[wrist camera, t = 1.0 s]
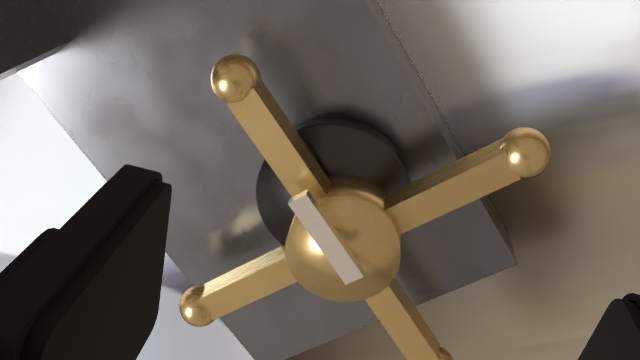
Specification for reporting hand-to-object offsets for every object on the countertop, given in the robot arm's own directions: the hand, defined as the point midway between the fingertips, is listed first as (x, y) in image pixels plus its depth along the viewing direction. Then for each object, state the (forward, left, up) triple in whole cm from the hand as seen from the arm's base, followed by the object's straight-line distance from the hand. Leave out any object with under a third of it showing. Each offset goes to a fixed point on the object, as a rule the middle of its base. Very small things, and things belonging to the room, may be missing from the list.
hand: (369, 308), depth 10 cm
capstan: (-5, +5, -14) cm, 16 cm away
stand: (0, +7, -18) cm, 19 cm away
